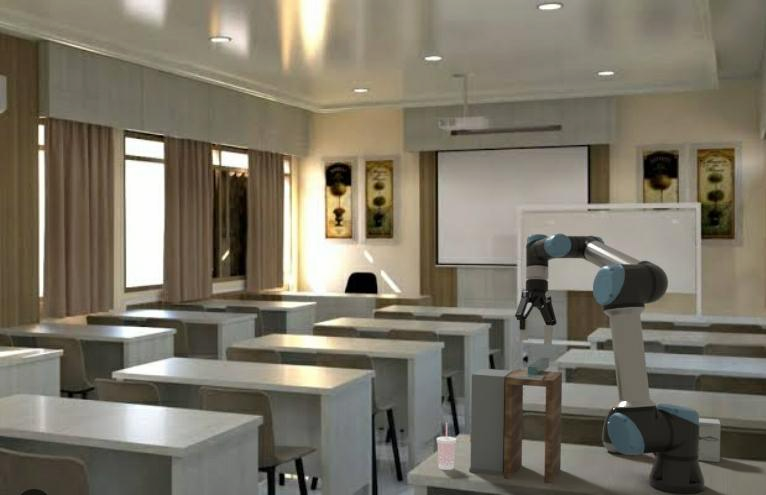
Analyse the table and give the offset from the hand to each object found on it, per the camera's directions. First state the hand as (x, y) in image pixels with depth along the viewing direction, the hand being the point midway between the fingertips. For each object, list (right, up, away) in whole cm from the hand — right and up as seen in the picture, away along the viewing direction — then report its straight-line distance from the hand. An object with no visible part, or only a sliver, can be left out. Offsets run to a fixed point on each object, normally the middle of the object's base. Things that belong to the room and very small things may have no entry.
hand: (536, 342), depth 292 cm
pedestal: (-18, -36, -24) cm, 47 cm away
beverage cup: (-32, -36, -24) cm, 54 cm away
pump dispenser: (+27, -36, -1) cm, 45 cm away
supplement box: (+54, -37, -10) cm, 66 cm away
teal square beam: (-4, -6, -26) cm, 27 cm away
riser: (-6, -36, -29) cm, 47 cm away
